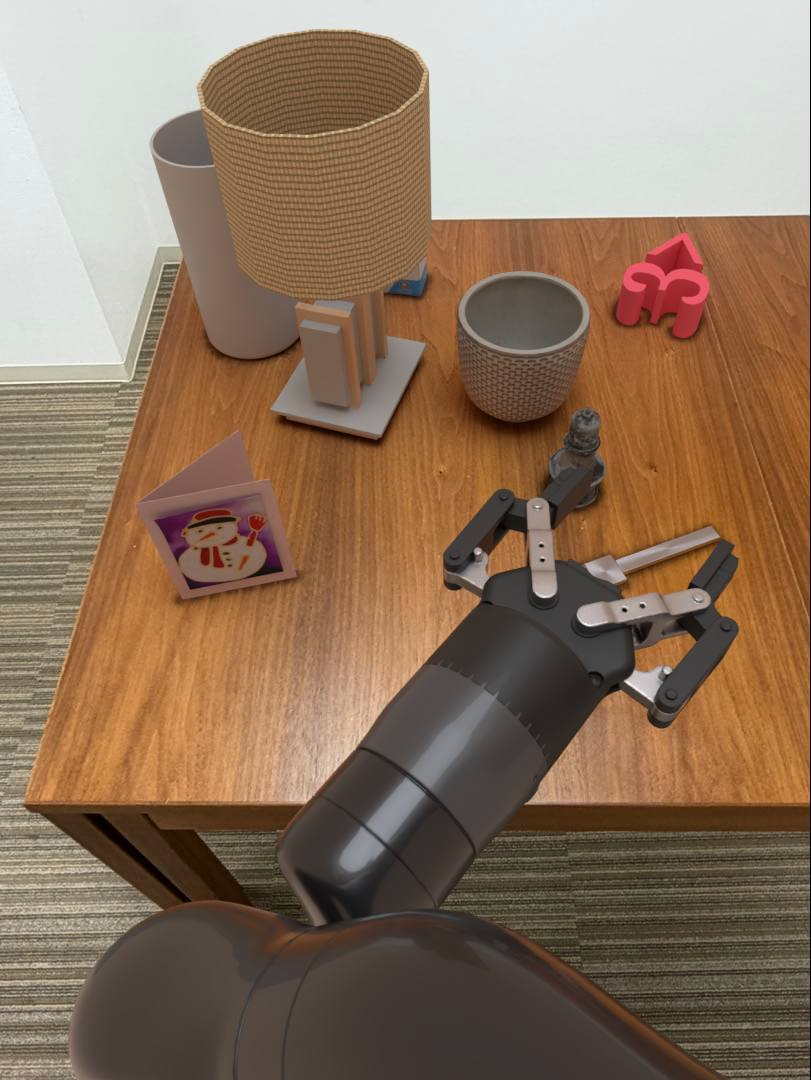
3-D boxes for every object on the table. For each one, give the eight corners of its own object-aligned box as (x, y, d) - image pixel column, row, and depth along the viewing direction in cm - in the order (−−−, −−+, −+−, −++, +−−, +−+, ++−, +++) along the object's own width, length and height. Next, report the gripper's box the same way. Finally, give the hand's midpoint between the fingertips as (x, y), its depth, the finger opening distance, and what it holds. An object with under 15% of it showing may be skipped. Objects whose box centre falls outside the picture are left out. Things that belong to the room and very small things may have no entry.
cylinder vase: (319, 306, 105) (288, 112, 85) (284, 369, 98) (241, 174, 78) (232, 293, 108) (182, 101, 87) (192, 353, 101) (127, 160, 80)
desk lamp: (310, 324, 103) (258, 19, 74) (455, 353, 98) (458, 40, 70) (242, 429, 92) (152, 120, 64) (402, 467, 88) (381, 153, 59)
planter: (596, 387, 94) (614, 295, 83) (540, 463, 87) (552, 373, 77) (493, 347, 99) (498, 255, 88) (432, 416, 92) (430, 325, 82)
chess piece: (538, 473, 86) (549, 390, 77) (590, 464, 87) (608, 381, 77) (554, 514, 83) (568, 434, 73) (608, 505, 83) (629, 423, 74)
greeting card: (182, 606, 78) (134, 512, 66) (179, 547, 83) (133, 448, 70) (298, 583, 79) (271, 486, 67) (288, 526, 84) (262, 424, 72)
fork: (705, 523, 81) (706, 519, 81) (723, 547, 80) (725, 542, 79) (537, 583, 78) (537, 580, 77) (552, 609, 76) (553, 606, 76)
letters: (639, 258, 108) (647, 225, 104) (716, 275, 105) (727, 241, 101) (611, 321, 101) (618, 288, 97) (692, 340, 98) (703, 307, 94)
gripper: (624, 797, 31) (802, 534, 38) (354, 603, 37) (551, 406, 44) (596, 850, 37) (754, 615, 44) (367, 677, 43) (539, 493, 50)
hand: (653, 511), depth 44 cm, fingers open, 8 cm apart
